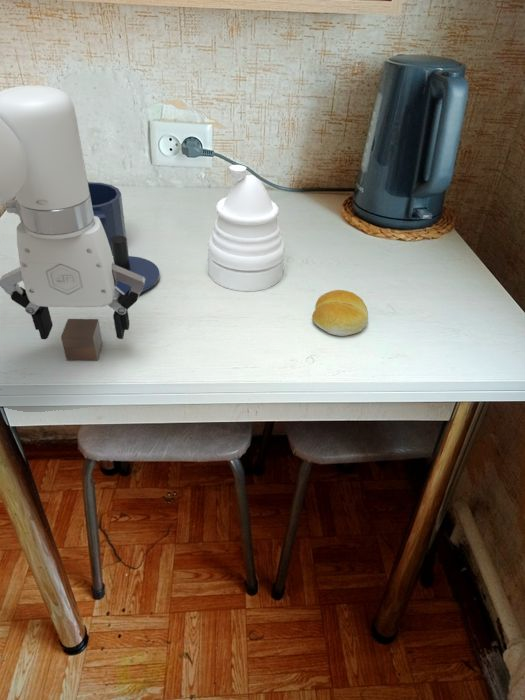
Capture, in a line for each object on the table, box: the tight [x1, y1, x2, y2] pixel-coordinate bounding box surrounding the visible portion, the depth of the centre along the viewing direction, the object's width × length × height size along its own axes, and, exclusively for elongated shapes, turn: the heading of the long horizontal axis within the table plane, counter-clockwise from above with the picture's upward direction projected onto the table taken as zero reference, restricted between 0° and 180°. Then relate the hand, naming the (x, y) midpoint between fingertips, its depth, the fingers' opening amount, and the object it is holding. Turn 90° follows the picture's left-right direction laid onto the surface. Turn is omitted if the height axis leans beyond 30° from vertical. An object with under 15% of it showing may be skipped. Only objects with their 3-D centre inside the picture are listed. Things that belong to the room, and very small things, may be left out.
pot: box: [87, 179, 127, 256], centre depth 89 cm, size 11×16×10 cm, turn 25°
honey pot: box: [207, 164, 285, 292], centre depth 82 cm, size 13×13×18 cm
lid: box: [111, 236, 160, 293], centre depth 81 cm, size 12×12×7 cm
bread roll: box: [311, 289, 369, 337], centre depth 77 cm, size 8×9×4 cm
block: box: [60, 318, 103, 362], centre depth 68 cm, size 4×4×4 cm
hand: (84, 332), depth 67 cm, fingers open, 9 cm apart
